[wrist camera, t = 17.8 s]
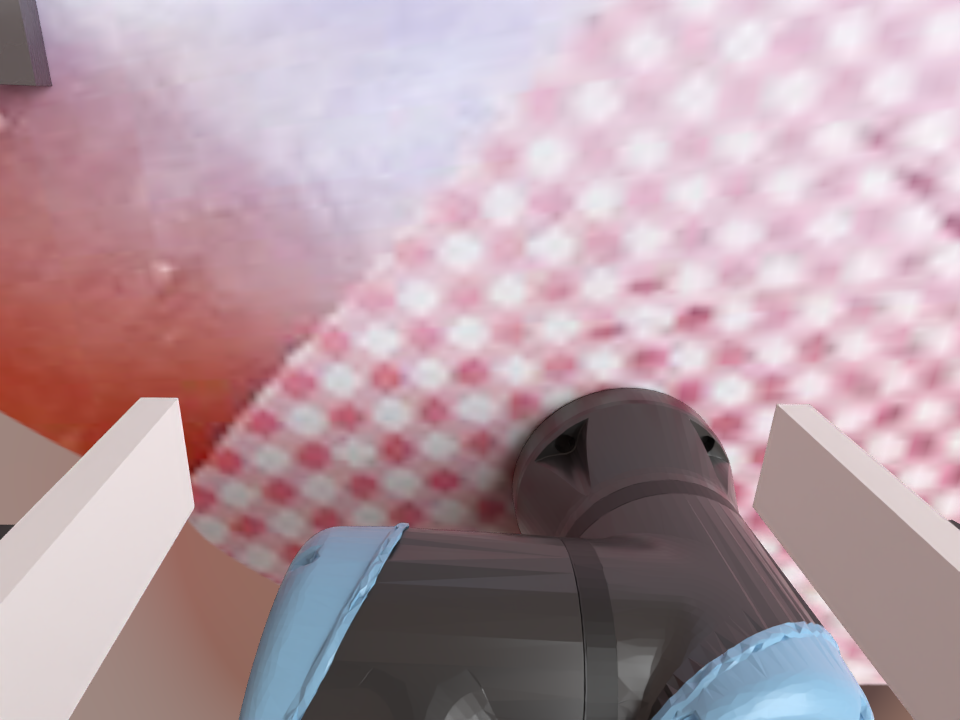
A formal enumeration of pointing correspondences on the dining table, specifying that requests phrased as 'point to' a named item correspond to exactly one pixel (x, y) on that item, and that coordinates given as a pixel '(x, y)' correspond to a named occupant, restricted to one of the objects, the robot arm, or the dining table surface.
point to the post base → (22, 45)
